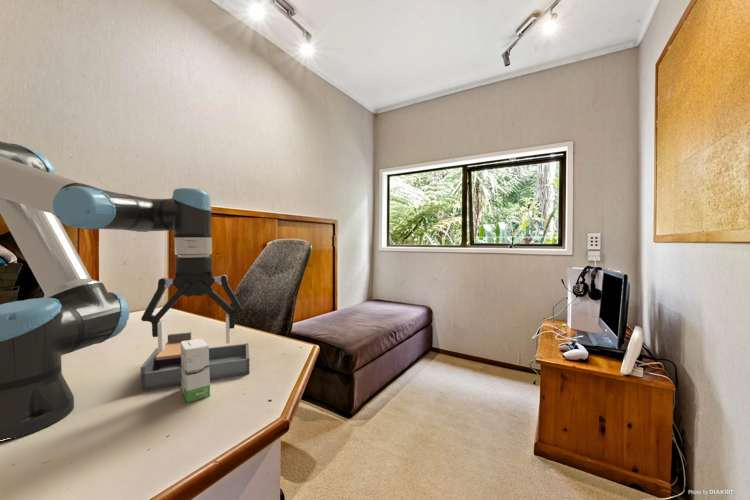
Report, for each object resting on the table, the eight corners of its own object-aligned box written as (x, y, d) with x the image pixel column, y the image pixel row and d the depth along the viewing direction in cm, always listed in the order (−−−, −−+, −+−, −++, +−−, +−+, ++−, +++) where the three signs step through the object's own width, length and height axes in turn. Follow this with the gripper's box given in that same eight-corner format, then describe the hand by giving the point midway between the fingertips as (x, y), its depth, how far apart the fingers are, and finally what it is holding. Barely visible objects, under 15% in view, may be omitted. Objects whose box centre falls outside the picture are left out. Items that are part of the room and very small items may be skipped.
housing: (141, 390, 73) (140, 367, 73) (156, 368, 86) (155, 348, 86) (249, 373, 83) (249, 353, 82) (248, 355, 95) (248, 338, 95)
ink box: (210, 396, 71) (210, 345, 70) (185, 403, 67) (185, 350, 67) (203, 383, 77) (203, 336, 77) (180, 388, 74) (179, 340, 74)
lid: (155, 360, 81) (155, 348, 81) (166, 344, 93) (166, 334, 93) (186, 356, 84) (186, 345, 84) (193, 341, 96) (193, 331, 96)
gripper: (121, 258, 63) (124, 360, 64) (251, 255, 73) (253, 343, 73) (133, 256, 70) (136, 348, 70) (251, 254, 80) (252, 334, 80)
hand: (196, 346), depth 72 cm, fingers open, 13 cm apart
